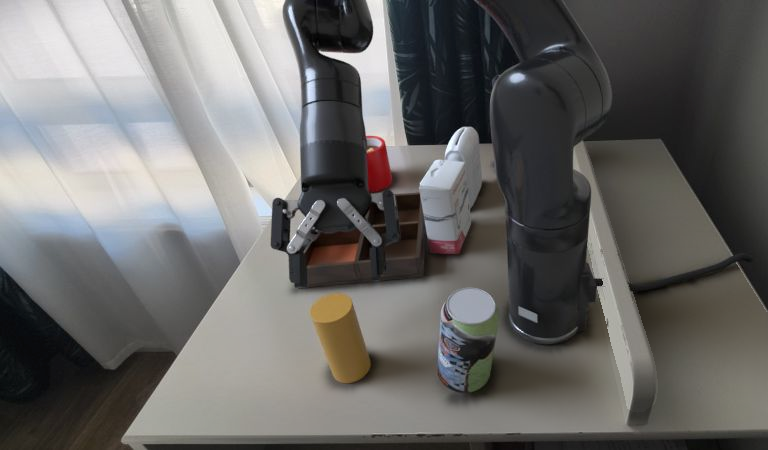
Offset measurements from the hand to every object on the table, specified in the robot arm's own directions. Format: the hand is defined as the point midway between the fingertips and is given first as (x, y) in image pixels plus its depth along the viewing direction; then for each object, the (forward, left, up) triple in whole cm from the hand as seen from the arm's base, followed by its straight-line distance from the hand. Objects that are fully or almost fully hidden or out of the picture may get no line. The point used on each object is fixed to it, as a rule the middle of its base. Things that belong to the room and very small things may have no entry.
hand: (339, 284), depth 56 cm
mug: (+3, -38, -10) cm, 39 cm away
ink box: (-12, -20, -10) cm, 25 cm away
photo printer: (-15, -32, -10) cm, 36 cm away
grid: (+1, -20, -9) cm, 22 cm away
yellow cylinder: (0, +4, -9) cm, 10 cm away
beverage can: (-14, +7, -10) cm, 19 cm away
